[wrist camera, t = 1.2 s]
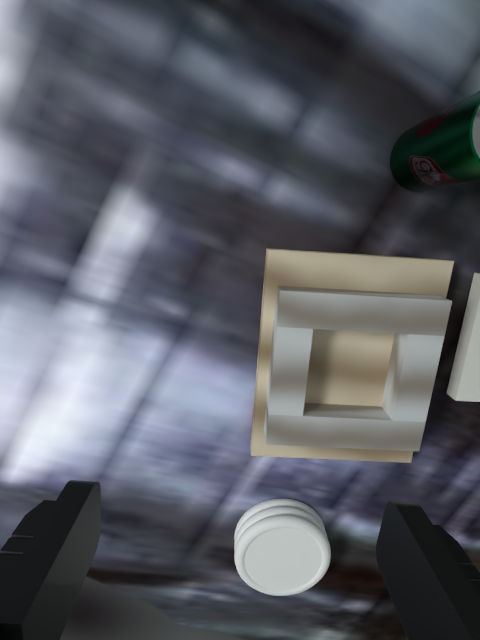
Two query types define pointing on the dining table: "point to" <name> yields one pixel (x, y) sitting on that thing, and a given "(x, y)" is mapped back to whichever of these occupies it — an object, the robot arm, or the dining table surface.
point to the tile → (468, 351)
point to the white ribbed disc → (281, 547)
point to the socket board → (347, 354)
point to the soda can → (440, 149)
